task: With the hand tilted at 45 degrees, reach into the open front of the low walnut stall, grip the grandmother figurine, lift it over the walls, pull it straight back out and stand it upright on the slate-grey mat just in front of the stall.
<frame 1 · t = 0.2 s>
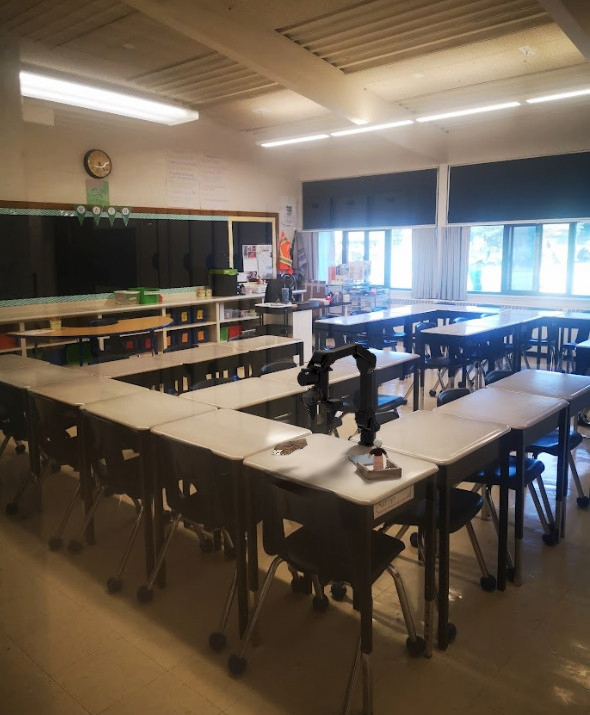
hand: (321, 422, 234), 14 cm above the table, tool pointing down, fingers open, 9 cm apart
grandmother figurine: (377, 471, 222), on the table
slate mat: (364, 460, 234), on the table
walnut stall: (377, 471, 222), on the table
wooden fragment: (290, 447, 251), on the table
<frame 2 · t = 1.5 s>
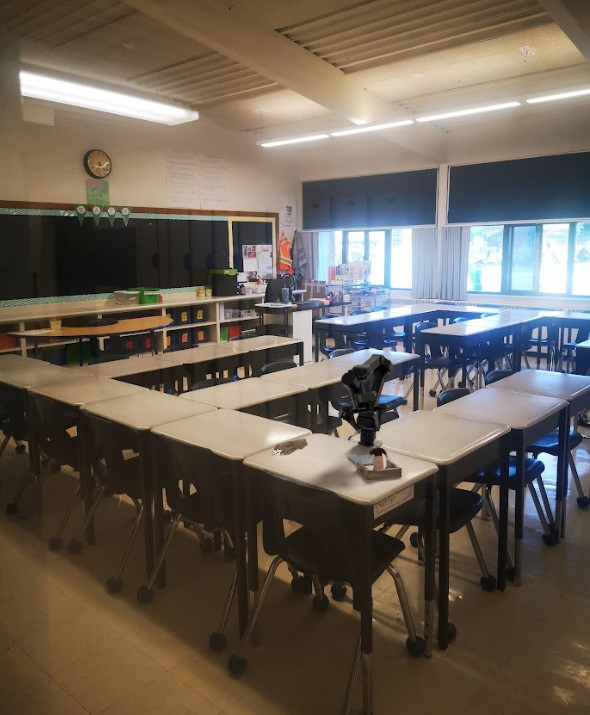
hand: (368, 429, 228), 13 cm above the table, tool tilted 45°, fingers open, 9 cm apart
nothing on the table moved.
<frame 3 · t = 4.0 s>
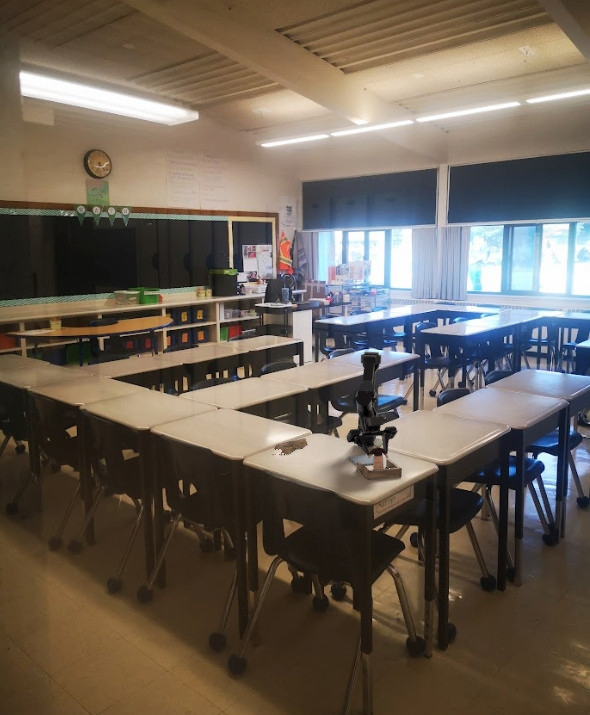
hand: (377, 454, 221), 7 cm above the table, tool tilted 45°, fingers closed on grandmother figurine, 7 cm apart
grandmother figurine: (377, 471, 222), on the table, touching gripper
everything else where it was.
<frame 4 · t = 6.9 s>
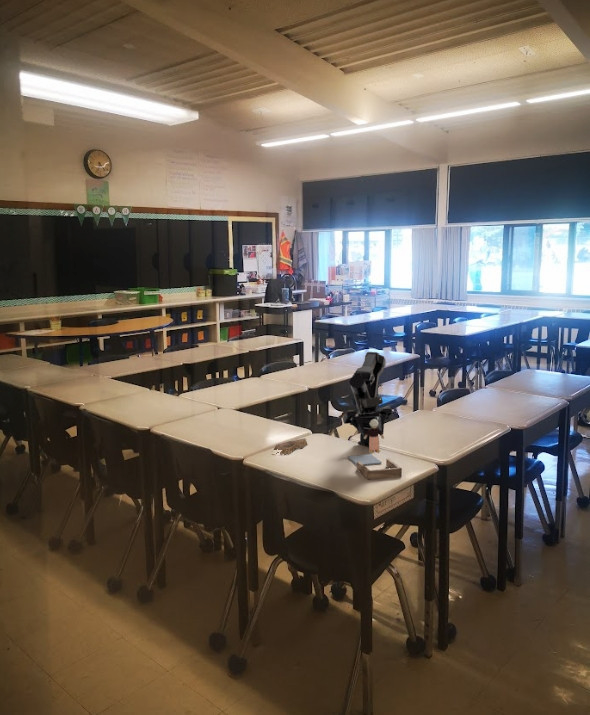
hand: (373, 435, 224), 13 cm above the table, tool tilted 45°, fingers closed on grandmother figurine, 7 cm apart
grandmother figurine: (373, 452, 226), point 6 cm above the table, touching gripper
everything else where it was.
when the fingers open (8 cm above the table, at t = 9.9 s): grandmother figurine stays where it is, resting on slate mat.
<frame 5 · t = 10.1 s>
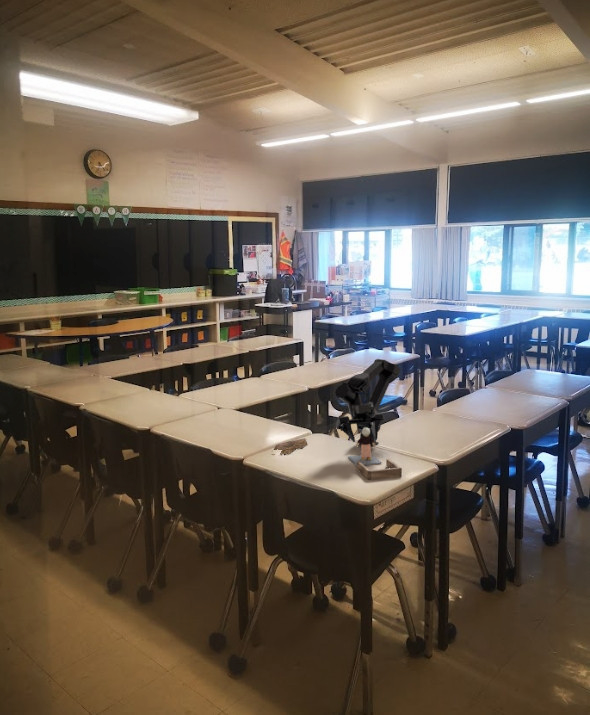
hand: (365, 440, 232), 8 cm above the table, tool tilted 45°, fingers open, 9 cm apart
grandmother figurine: (365, 459, 234), resting on slate mat
everything else where it was.
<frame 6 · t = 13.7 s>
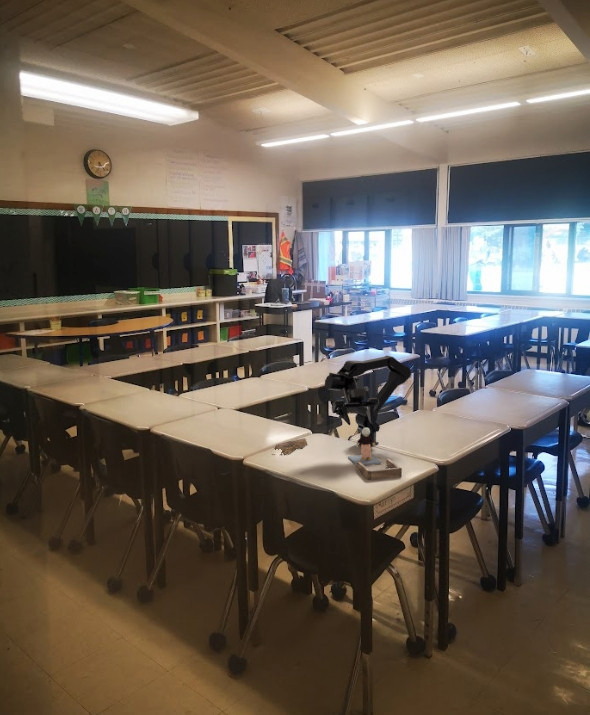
hand: (360, 423, 236), 14 cm above the table, tool tilted 45°, fingers open, 9 cm apart
nothing on the table moved.
at the end: grandmother figurine inside the target area on the slate mat (0.3 cm from its centre), point 0.4 cm above the slate mat's base; grandmother figurine tilted 0°; the gripper is holding nothing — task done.
